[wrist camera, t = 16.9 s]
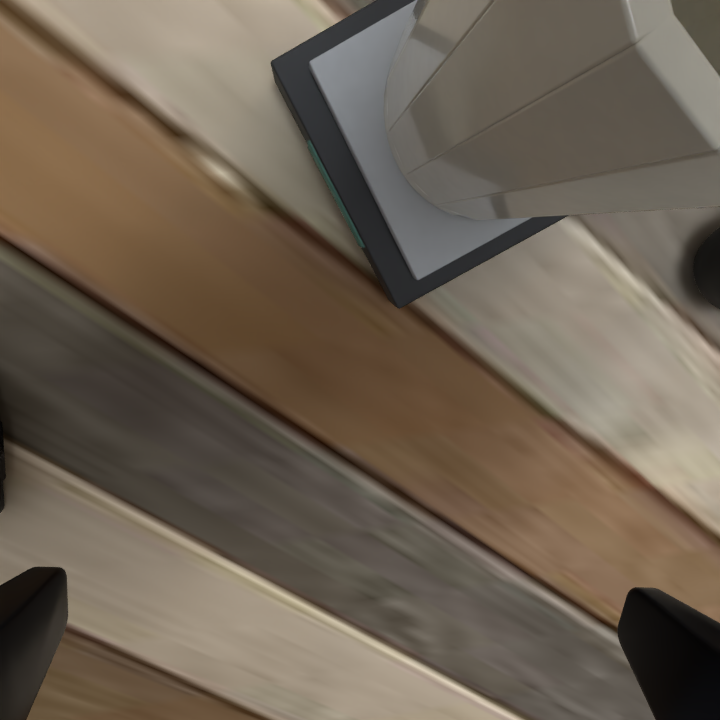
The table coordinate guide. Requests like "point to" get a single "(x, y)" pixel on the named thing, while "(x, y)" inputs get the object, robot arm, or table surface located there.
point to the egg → (709, 268)
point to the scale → (380, 158)
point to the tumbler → (557, 106)
